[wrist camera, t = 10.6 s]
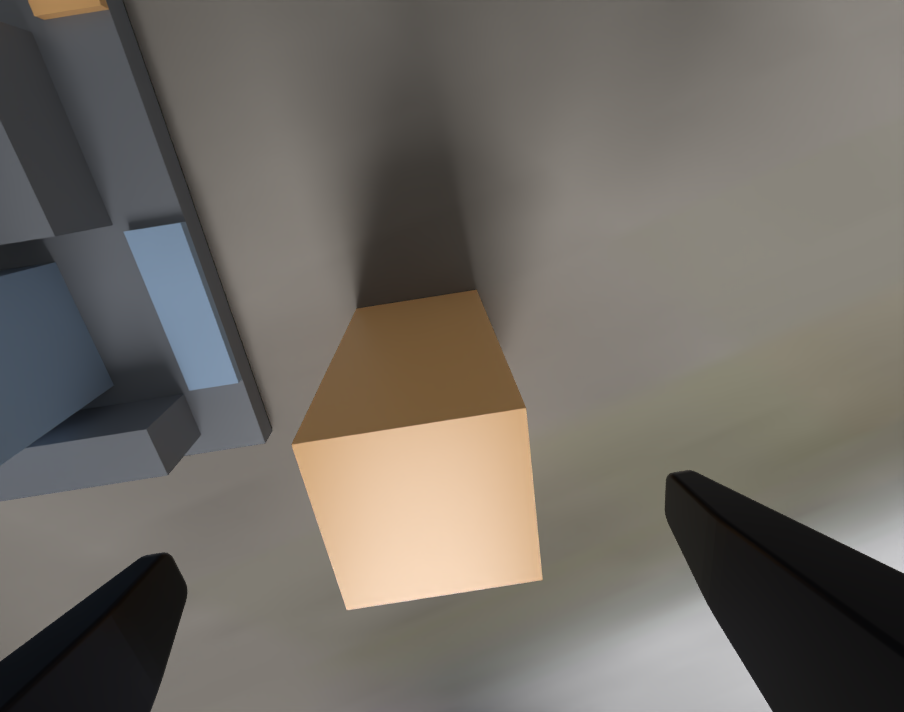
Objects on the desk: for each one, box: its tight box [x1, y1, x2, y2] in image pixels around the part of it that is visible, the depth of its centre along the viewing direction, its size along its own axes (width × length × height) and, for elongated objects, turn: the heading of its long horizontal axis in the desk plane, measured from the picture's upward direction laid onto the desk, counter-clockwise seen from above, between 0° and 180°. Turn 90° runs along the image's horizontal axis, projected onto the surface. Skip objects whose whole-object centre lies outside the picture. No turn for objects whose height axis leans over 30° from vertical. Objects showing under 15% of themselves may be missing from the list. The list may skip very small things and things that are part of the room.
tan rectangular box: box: [292, 290, 542, 610], centre depth 12 cm, size 4×4×8 cm
